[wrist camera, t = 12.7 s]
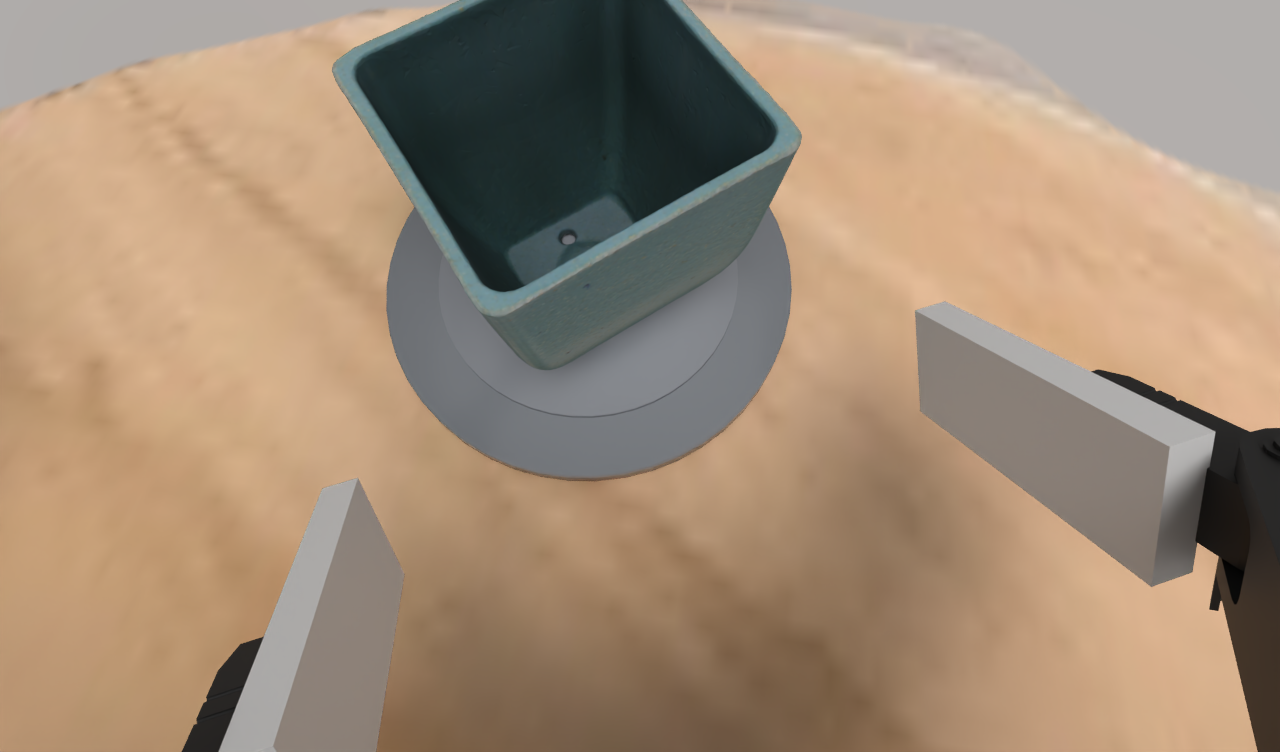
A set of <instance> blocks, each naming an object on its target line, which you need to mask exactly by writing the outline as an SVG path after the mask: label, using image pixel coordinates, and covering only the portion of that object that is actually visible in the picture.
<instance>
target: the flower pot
mask: <svg viewBox="0 0 1280 752" xmlns="http://www.w3.org/2000/svg"><path fill="white" fill-rule="evenodd" d="M332 72H333V75H334V77H335V80H336V82H337V84H338V86H339V87H340V89H341V90H342V92H343V93H344V94H345V96H346V97H347V99H348V101H349V103H350V104H351V106H352V107H353V109H354V110H355V112H356V113H357V115H358V116H359V118H360V119H361V121H362V123H363V124H364V125H365V127H366V129H367V131H368V132H369V134H370V136H371V137H372V139H373V140H374V142H375V143H376V145H377V147H378V148H379V149H380V151H381V153H382V154H383V156H384V158H385V159H386V161H387V163H388V164H389V166H390V167H391V169H392V170H393V172H394V174H395V176H396V177H397V179H398V180H399V182H400V184H401V185H402V187H403V189H404V190H405V192H406V194H407V195H408V197H409V199H410V200H411V202H412V203H413V205H414V206H415V208H416V210H417V211H418V213H419V215H420V216H421V218H422V220H423V221H424V223H425V225H426V226H427V228H428V230H429V231H430V233H431V235H432V236H433V238H434V240H435V241H436V243H437V245H438V246H439V248H440V250H441V251H442V253H443V254H444V256H445V258H446V260H447V261H448V263H449V265H450V267H451V268H452V270H453V272H454V273H455V275H456V277H457V278H458V280H459V282H460V284H461V285H462V287H463V289H464V291H465V292H466V294H467V295H468V297H469V299H470V300H471V302H472V303H473V305H474V306H475V308H476V309H477V310H478V311H479V312H480V313H481V314H482V315H483V317H484V318H485V319H486V320H487V322H488V323H489V324H490V325H491V326H492V328H493V329H494V330H495V331H496V332H497V333H498V335H499V336H500V337H501V338H502V339H503V340H504V341H505V342H506V344H507V345H508V346H509V347H510V348H511V349H512V350H513V351H514V353H515V354H516V355H517V356H518V357H519V358H520V359H521V360H522V361H524V362H525V363H526V364H528V365H529V366H531V367H533V368H536V369H539V370H553V369H557V368H560V367H562V366H564V365H566V364H568V363H570V362H572V361H574V360H575V359H577V358H579V357H580V356H582V355H584V354H585V353H587V352H589V351H590V350H592V349H594V348H595V347H597V346H599V345H600V344H602V343H604V342H605V341H607V340H609V339H611V338H612V337H614V336H616V335H617V334H619V333H621V332H622V331H624V330H626V329H627V328H629V327H631V326H632V325H634V324H636V323H638V322H639V321H641V320H643V319H644V318H646V317H648V316H649V315H651V314H653V313H654V312H656V311H658V310H659V309H661V308H663V307H665V306H666V305H668V304H670V303H671V302H673V301H675V300H676V299H678V298H680V297H682V296H683V295H685V294H687V293H689V292H691V291H692V290H694V289H696V288H698V287H699V286H701V285H702V284H704V283H706V282H707V281H709V280H710V279H712V278H713V277H715V276H716V275H718V274H719V273H721V272H722V271H723V270H724V269H725V268H727V267H728V266H729V265H730V264H731V263H732V262H733V261H734V260H735V259H736V258H737V257H738V256H739V255H740V254H741V253H742V251H743V250H744V249H745V248H746V247H747V245H748V244H749V242H750V240H751V239H752V237H753V236H754V234H755V232H756V230H757V228H758V227H759V225H760V223H761V221H762V219H763V217H764V215H765V213H766V211H767V209H768V207H769V205H770V203H771V201H772V199H773V197H774V195H775V193H776V191H777V189H778V187H779V186H780V184H781V182H782V180H783V177H784V175H785V173H786V171H787V170H788V168H789V166H790V164H791V161H792V159H793V157H794V155H795V153H796V152H797V150H798V148H799V146H800V144H801V139H802V136H801V132H800V131H799V129H798V128H797V126H796V125H795V124H794V122H793V121H792V120H791V119H790V117H789V116H788V115H787V113H786V112H785V111H784V110H783V109H782V108H780V106H779V105H778V104H777V103H776V102H775V101H774V100H773V99H772V97H771V96H770V94H769V93H768V92H766V91H765V90H764V89H763V88H762V87H761V85H760V84H759V83H758V82H757V81H756V80H755V78H753V77H752V76H751V75H750V74H749V72H747V71H746V70H745V69H744V68H743V67H742V65H741V64H740V63H739V62H738V61H737V60H736V59H735V58H734V57H733V56H732V55H731V54H730V52H729V51H728V50H727V49H726V48H725V47H724V46H723V45H722V44H721V43H720V42H719V41H718V40H717V39H716V37H715V36H714V35H713V34H712V33H711V32H710V30H709V29H708V28H707V27H706V26H705V25H704V24H703V23H702V22H701V20H700V19H699V18H698V17H697V16H696V15H695V14H694V13H693V12H692V10H690V9H689V8H688V6H687V5H686V4H685V3H684V2H683V1H682V0H459V1H457V2H455V3H452V4H450V5H449V6H447V7H444V8H442V9H440V10H438V11H436V12H433V13H431V14H429V15H425V16H424V17H421V18H420V19H418V20H415V21H413V22H411V23H409V24H407V25H404V26H402V27H400V28H398V29H396V30H393V31H391V32H389V33H386V34H384V35H382V36H379V37H377V38H375V39H373V40H370V41H368V42H366V43H364V44H362V45H360V46H357V47H355V48H353V49H352V50H351V51H349V52H348V53H346V54H345V55H344V56H342V57H341V58H339V59H338V60H337V61H336V62H335V63H334V64H333V67H332ZM566 234H573V235H574V236H575V242H573V243H572V244H564V243H562V237H563V236H564V235H566Z"/></svg>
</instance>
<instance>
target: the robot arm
mask: <svg viewBox="0 0 1280 752" xmlns="http://www.w3.org/2000/svg"><path fill="white" fill-rule="evenodd" d="M915 317H916V336H917V355H918V375H919V394H920V411H921V412H922V413H923V414H925V415H926V416H927V417H929V418H930V419H931V420H933V421H934V422H935V423H937V424H938V425H939V426H940V427H942V428H943V429H944V430H946V431H947V432H948V433H950V434H951V435H952V436H954V437H955V438H956V439H958V440H959V441H960V442H961V443H963V444H964V445H965V446H967V447H968V448H969V449H971V450H972V451H973V452H975V453H976V454H977V455H979V456H980V457H981V458H983V459H984V460H985V461H986V462H988V463H989V464H990V465H992V466H993V467H994V468H996V469H997V470H998V471H1000V472H1001V473H1002V474H1004V475H1005V476H1006V477H1008V478H1009V479H1010V480H1011V481H1013V482H1014V483H1015V484H1017V485H1018V486H1019V487H1021V488H1022V489H1023V490H1025V491H1026V492H1027V493H1029V494H1030V495H1031V496H1033V497H1034V498H1035V499H1036V500H1038V501H1039V502H1040V503H1042V504H1043V505H1044V506H1046V507H1047V508H1048V509H1050V510H1051V511H1052V512H1054V513H1055V514H1056V515H1058V516H1059V517H1060V518H1061V519H1063V520H1064V521H1065V522H1067V523H1068V524H1069V525H1071V526H1072V527H1073V528H1075V529H1076V530H1077V531H1079V532H1080V533H1081V534H1083V535H1084V536H1085V537H1086V538H1088V539H1089V540H1090V541H1092V542H1093V543H1094V544H1096V545H1097V546H1098V547H1100V548H1101V549H1102V550H1104V551H1105V552H1106V553H1108V554H1109V555H1110V556H1111V557H1113V558H1114V559H1115V560H1117V561H1118V562H1119V563H1121V564H1122V565H1123V566H1125V567H1126V568H1127V569H1129V570H1130V571H1131V572H1133V573H1134V574H1135V575H1136V576H1138V577H1139V578H1140V579H1142V580H1143V581H1144V582H1146V583H1147V584H1148V585H1150V586H1151V587H1152V586H1155V585H1158V584H1160V583H1163V582H1166V581H1169V580H1172V579H1175V578H1177V577H1180V576H1183V575H1186V574H1189V573H1191V572H1192V571H1193V565H1194V559H1195V553H1196V547H1197V543H1199V544H1201V545H1202V546H1204V547H1205V548H1207V549H1208V550H1210V551H1211V552H1213V553H1214V554H1216V555H1218V556H1219V558H1218V563H1217V569H1216V574H1215V580H1214V585H1213V590H1212V596H1211V602H1210V610H1216V611H1218V609H1219V605H1220V601H1222V602H1223V607H1224V611H1225V615H1226V619H1227V624H1228V628H1229V632H1230V636H1231V640H1232V645H1233V649H1234V653H1235V657H1236V662H1237V666H1238V670H1239V674H1240V678H1241V683H1242V687H1243V691H1244V695H1245V700H1246V704H1247V708H1248V712H1249V716H1250V721H1251V725H1252V729H1253V733H1254V738H1255V742H1256V746H1257V750H1258V752H1280V428H1265V429H1261V430H1257V431H1253V432H1249V431H1247V430H1244V429H1242V428H1240V427H1238V426H1236V425H1234V424H1231V423H1229V422H1227V421H1225V420H1223V419H1221V418H1218V417H1216V416H1214V415H1212V414H1210V413H1207V412H1205V411H1203V410H1201V409H1199V408H1197V407H1194V406H1192V405H1190V404H1188V403H1186V402H1184V401H1181V400H1180V401H1177V400H1176V398H1175V397H1173V396H1171V395H1168V394H1166V393H1164V392H1162V391H1156V390H1155V388H1153V387H1151V386H1149V385H1147V384H1144V383H1142V382H1140V381H1138V380H1136V379H1134V378H1131V377H1129V376H1125V375H1120V374H1116V373H1111V372H1107V371H1103V370H1095V371H1092V372H1091V371H1088V370H1086V369H1084V368H1082V367H1080V366H1078V365H1076V364H1074V363H1072V362H1070V361H1068V360H1066V359H1064V358H1061V357H1059V356H1057V355H1055V354H1053V353H1051V352H1049V351H1047V350H1045V349H1043V348H1041V347H1039V346H1036V345H1034V344H1032V343H1030V342H1028V341H1026V340H1024V339H1022V338H1020V337H1018V336H1016V335H1014V334H1012V333H1009V332H1007V331H1005V330H1003V329H1001V328H999V327H997V326H995V325H993V324H991V323H989V322H987V321H985V320H982V319H980V318H978V317H976V316H974V315H972V314H970V313H968V312H966V311H964V310H962V309H960V308H958V307H955V306H953V305H951V304H949V303H947V302H942V303H938V304H935V305H932V306H928V307H925V308H922V309H918V310H915ZM404 575H405V574H404V572H403V570H402V568H401V566H400V564H399V562H398V560H397V558H396V555H395V553H394V551H393V549H392V547H391V545H390V543H389V541H388V539H387V537H386V535H385V533H384V531H383V529H382V527H381V525H380V523H379V520H378V518H377V516H376V514H375V512H374V510H373V508H372V506H371V504H370V502H369V500H368V498H367V496H366V494H365V492H364V490H363V488H362V485H361V483H360V481H359V479H358V478H356V479H353V480H349V481H346V482H343V483H339V484H336V485H333V486H329V487H326V488H323V489H322V491H321V493H320V496H319V499H318V501H317V504H316V506H315V509H314V511H313V514H312V516H311V519H310V521H309V524H308V526H307V529H306V531H305V534H304V537H303V539H302V542H301V544H300V547H299V549H298V552H297V554H296V557H295V559H294V562H293V564H292V567H291V569H290V572H289V575H288V577H287V580H286V582H285V585H284V587H283V590H282V592H281V595H280V597H279V600H278V602H277V605H276V607H275V610H274V613H273V615H272V618H271V620H270V623H269V625H268V628H267V630H266V633H265V635H264V637H262V638H258V639H255V640H252V641H249V642H246V643H243V644H240V645H239V646H238V648H237V649H236V650H235V651H234V652H233V654H232V655H231V656H230V657H229V659H228V660H227V661H226V662H225V663H224V665H223V666H222V667H221V668H220V669H219V671H218V672H217V675H216V677H215V679H214V681H213V683H212V686H211V688H210V690H209V692H208V695H207V697H206V698H207V702H205V703H203V706H202V708H201V710H200V712H199V715H198V717H197V719H196V720H197V724H195V725H194V726H193V728H192V730H191V732H190V735H189V737H188V739H187V741H186V744H185V746H184V748H183V750H182V752H376V749H377V743H378V737H379V730H380V724H381V718H382V712H383V705H384V699H385V693H386V687H387V681H388V674H389V668H390V662H391V656H392V649H393V643H394V637H395V631H396V624H397V618H398V612H399V606H400V599H401V593H402V587H403V581H404Z"/></svg>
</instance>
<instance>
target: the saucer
mask: <svg viewBox="0 0 1280 752" xmlns="http://www.w3.org/2000/svg"><path fill="white" fill-rule="evenodd" d="M573 242H575V236H574V235H573V234H566V235H564V236H563V237H562V243H564V244H572V243H573ZM791 290H792V289H791V274H790V264H789V259H788V255H787V250H786V246H785V242H784V239H783V236H782V234H781V231H780V228H779V226H778V223H777V221H776V219H775V217H774V215H773V213H772V211H771V210H770V208H769V207H768V209H767V211H766V213H765V215H764V217H763V219H762V221H761V223H760V225H759V227H758V228H757V230H756V232H755V234H754V236H753V237H752V239H751V240H750V242H749V244H748V245H747V247H746V248H745V249H744V250H743V251H742V253H741V254H740V255H739V256H738V257H737V258H736V259H735V260H734V261H733V262H732V263H731V264H730V265H729V266H728V267H727V268H725V269H724V270H723V271H722V272H721V273H719V274H718V275H716V276H715V277H713V278H712V279H710V280H709V281H707V282H706V283H704V284H702V285H701V286H699V287H698V288H696V289H694V290H692V291H691V292H689V293H687V294H685V295H683V296H682V297H680V298H678V299H676V300H675V301H673V302H671V303H670V304H668V305H666V306H665V307H663V308H661V309H659V310H658V311H656V312H654V313H653V314H651V315H649V316H648V317H646V318H644V319H643V320H641V321H639V322H638V323H636V324H634V325H632V326H631V327H629V328H627V329H626V330H624V331H622V332H621V333H619V334H617V335H616V336H614V337H612V338H611V339H609V340H607V341H605V342H604V343H602V344H600V345H599V346H597V347H595V348H594V349H592V350H590V351H589V352H587V353H585V354H584V355H582V356H580V357H579V358H577V359H575V360H574V361H572V362H570V363H568V364H566V365H564V366H562V367H560V368H557V369H553V370H539V369H536V368H533V367H531V366H529V365H528V364H526V363H525V362H524V361H522V360H521V359H520V358H519V357H518V356H517V355H516V354H515V353H514V351H513V350H512V349H511V348H510V347H509V346H508V345H507V344H506V342H505V341H504V340H503V339H502V338H501V337H500V336H499V335H498V333H497V332H496V331H495V330H494V329H493V328H492V326H491V325H490V324H489V323H488V322H487V320H486V319H485V318H484V317H483V315H482V314H481V313H480V312H479V311H478V310H477V309H476V308H475V306H474V305H473V303H472V302H471V300H470V299H469V297H468V295H467V294H466V292H465V291H464V289H463V287H462V285H461V284H460V282H459V280H458V278H457V277H456V275H455V273H454V272H453V270H452V268H451V267H450V265H449V263H448V261H447V260H446V258H445V256H444V254H443V253H442V251H441V250H440V248H439V246H438V245H437V243H436V241H435V240H434V238H433V236H432V235H431V233H430V231H429V230H428V228H427V226H426V225H425V223H424V221H423V220H422V218H421V216H420V215H419V213H418V211H417V210H416V208H415V207H414V209H413V211H412V212H411V214H410V215H409V217H408V218H407V220H406V223H405V225H404V227H403V229H402V231H401V233H400V236H399V238H398V240H397V243H396V246H395V250H394V253H393V256H392V260H391V263H390V269H389V276H388V282H387V316H388V324H389V331H390V336H391V339H392V343H393V346H394V349H395V353H396V356H397V359H398V361H399V363H400V365H401V367H402V369H403V371H404V373H405V376H406V378H407V380H408V381H409V383H410V384H411V386H412V387H413V389H414V390H415V392H416V393H417V395H418V396H419V398H420V399H421V401H422V402H423V403H424V404H425V405H426V406H427V407H428V409H429V410H430V411H431V412H432V413H433V414H434V415H435V416H436V417H437V418H438V420H439V421H440V422H441V423H442V424H443V425H444V426H445V427H446V428H447V429H449V430H450V431H451V432H452V433H454V434H455V435H456V436H457V437H458V438H460V439H461V440H462V441H463V442H464V443H466V444H467V445H468V446H470V447H472V448H473V449H475V450H477V451H478V452H480V453H482V454H483V455H485V456H486V457H488V458H490V459H492V460H494V461H497V462H499V463H501V464H504V465H506V466H508V467H510V468H513V469H515V470H519V471H522V472H526V473H530V474H533V475H537V476H540V477H546V478H553V479H560V480H567V481H601V480H610V479H618V478H626V477H630V476H634V475H638V474H642V473H646V472H649V471H653V470H655V469H658V468H661V467H663V466H666V465H668V464H671V463H673V462H676V461H678V460H680V459H682V458H684V457H685V456H687V455H689V454H691V453H692V452H694V451H696V450H698V449H700V448H701V447H703V446H704V445H706V444H707V443H708V442H710V441H711V440H712V439H714V438H715V437H716V436H718V435H719V434H720V433H722V432H723V431H724V430H725V429H726V428H727V427H728V426H729V425H730V424H731V423H732V422H733V421H734V420H735V419H736V418H737V417H738V416H739V415H740V414H741V413H742V412H743V411H744V410H745V409H746V407H747V406H748V405H749V403H750V402H751V401H752V399H753V398H754V397H755V396H756V394H757V393H758V391H759V390H760V388H761V386H762V384H763V383H764V381H765V379H766V377H767V375H768V374H769V372H770V370H771V368H772V366H773V364H774V362H775V359H776V357H777V354H778V352H779V349H780V347H781V344H782V342H783V339H784V336H785V331H786V327H787V323H788V318H789V314H790V302H791Z"/></svg>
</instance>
